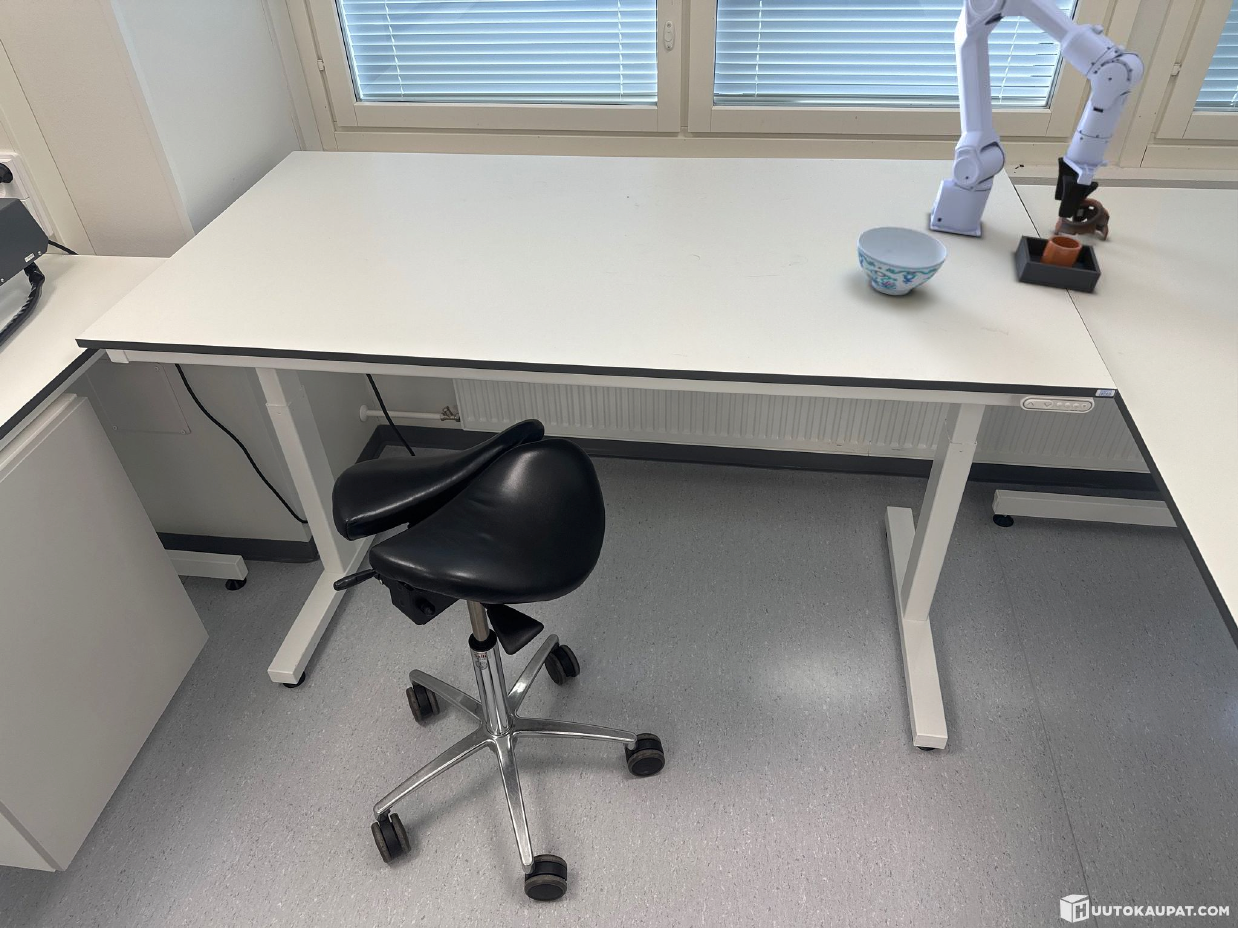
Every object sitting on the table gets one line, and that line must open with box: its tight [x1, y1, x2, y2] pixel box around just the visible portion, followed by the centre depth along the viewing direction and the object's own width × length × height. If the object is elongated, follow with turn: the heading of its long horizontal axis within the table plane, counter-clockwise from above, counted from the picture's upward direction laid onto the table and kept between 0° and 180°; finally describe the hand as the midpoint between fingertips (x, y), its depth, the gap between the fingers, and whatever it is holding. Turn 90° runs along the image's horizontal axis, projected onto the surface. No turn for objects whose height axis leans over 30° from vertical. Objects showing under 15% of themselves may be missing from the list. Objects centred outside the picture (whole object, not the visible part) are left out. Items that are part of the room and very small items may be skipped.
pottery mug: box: [1054, 197, 1111, 241], centre depth 159 cm, size 12×10×8 cm
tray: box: [1014, 235, 1102, 294], centre depth 147 cm, size 12×11×4 cm
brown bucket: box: [1039, 234, 1083, 268], centre depth 146 cm, size 6×6×6 cm
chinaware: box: [856, 226, 948, 296], centre depth 140 cm, size 15×15×8 cm
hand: (1062, 208), depth 146 cm, fingers open, 7 cm apart
